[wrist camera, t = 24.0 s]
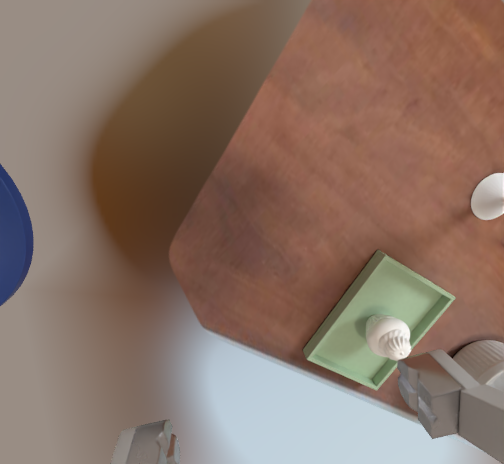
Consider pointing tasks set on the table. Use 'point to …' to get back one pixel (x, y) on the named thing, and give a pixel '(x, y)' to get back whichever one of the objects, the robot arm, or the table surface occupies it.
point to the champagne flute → (489, 197)
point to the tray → (368, 304)
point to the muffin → (388, 336)
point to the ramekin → (483, 362)
